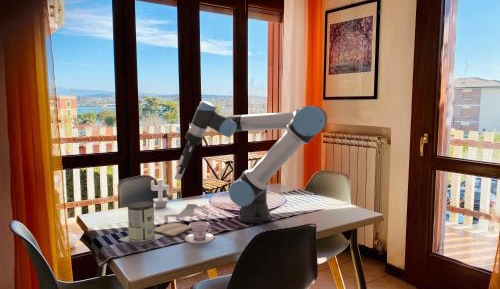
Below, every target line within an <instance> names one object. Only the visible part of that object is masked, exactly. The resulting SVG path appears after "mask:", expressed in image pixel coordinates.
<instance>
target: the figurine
mask: <svg viewBox="0 0 500 289" xmlns="http://www.w3.org/2000/svg"><path fill="white" fill-rule="evenodd" d="M156 181H157V184H156V185H155V180H153V179H152V180H150V189H151V191H153V192H157V197H156V198H153V199H152V200H153V203H154V206H155V207H156V208H166V206H167V205H168V202H169V199H168V197H164V194H163V191H165V192H166V195H168V196H169V195H170V185H169V184H163V182H164V179H163V178H162V177H161V178H157V180H156Z"/></svg>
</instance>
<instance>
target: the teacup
mask: <svg viewBox="0 0 500 289" xmlns="http://www.w3.org/2000/svg"><path fill="white" fill-rule="evenodd" d="M188 225H189V226H190V227H191V228H192V229H191V231H192V233H191V234H187V235H186V236H185V237H184V240H185V241H186V243H189V244H195V245H196V244H198V245H199V244H207V243H210V242H212V241H214V240H215V235H214V234H213V233H210V232H211V231H212V225H211V224H210V222H208V221H204V220H203V221H201V220H200V221H193V222H190V223H189V224H188ZM208 228H209V230H208ZM207 230H208V231H207Z"/></svg>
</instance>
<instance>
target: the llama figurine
mask: <svg viewBox="0 0 500 289" xmlns="http://www.w3.org/2000/svg"><path fill="white" fill-rule="evenodd" d="M195 209H199V210H202V211H203V213H205V214H207V215H209V214H210V212H209V211H208V210H206V209H204V208H203V206H200V205H198V204H197V203H191V202H188V203H186V205H185V207H184V208H182V210H181V211H179V212H177V213H176V212H172V213H165V214H164V215H163V218H164V221H165V223H168V220H169V217H173V218H186V217H190V218H192V217H197V218H201V219H205V220H207V219H208V217H207V216H204V215H200V214H197V213H195Z"/></svg>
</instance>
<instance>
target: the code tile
mask: <svg viewBox="0 0 500 289" xmlns="http://www.w3.org/2000/svg"><path fill="white" fill-rule="evenodd" d="M154 235H155V237H154V238H153V239H151V240H149V241H144V242H133V241H130V240H129V235H126V236H124V237H122V238H119V239H118V241H121V242H123V243H127V244H131V245H135V246H138V247H143V246H145V245H147V244H150V243H152V242H155V241H157V240H158V239H162V238H164V237H165V235H162V234H158V233H154Z"/></svg>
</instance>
